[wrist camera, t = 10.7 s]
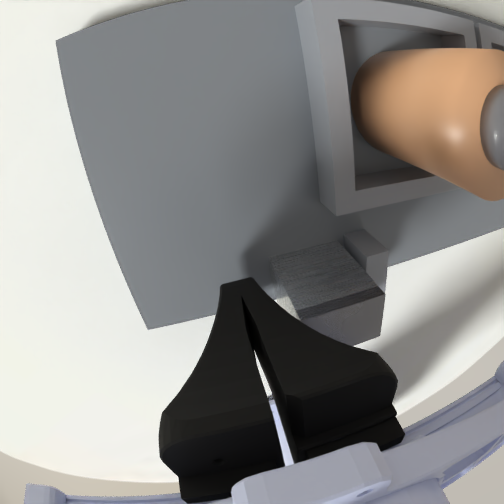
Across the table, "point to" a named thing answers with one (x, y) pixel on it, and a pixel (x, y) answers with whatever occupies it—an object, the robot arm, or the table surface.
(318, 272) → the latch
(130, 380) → the table surface
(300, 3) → the housing
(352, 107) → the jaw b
